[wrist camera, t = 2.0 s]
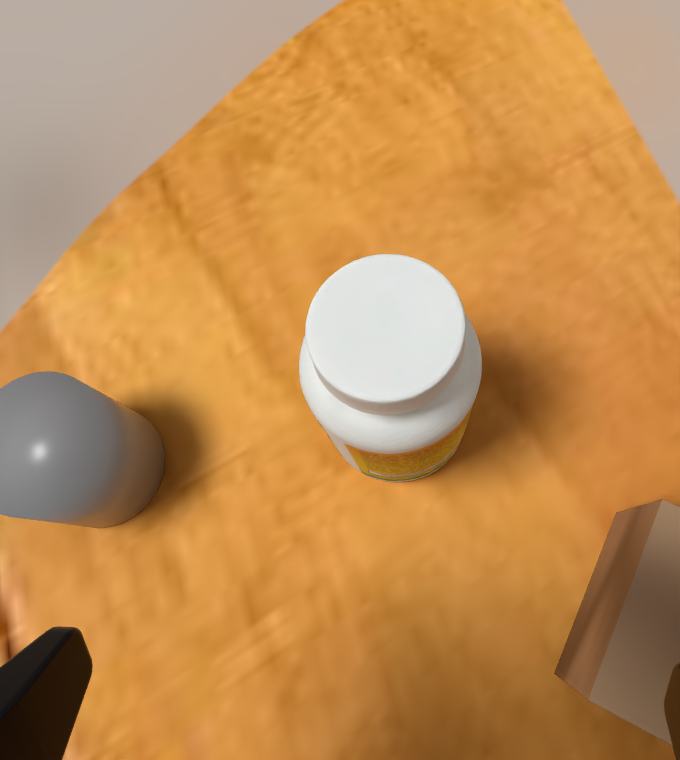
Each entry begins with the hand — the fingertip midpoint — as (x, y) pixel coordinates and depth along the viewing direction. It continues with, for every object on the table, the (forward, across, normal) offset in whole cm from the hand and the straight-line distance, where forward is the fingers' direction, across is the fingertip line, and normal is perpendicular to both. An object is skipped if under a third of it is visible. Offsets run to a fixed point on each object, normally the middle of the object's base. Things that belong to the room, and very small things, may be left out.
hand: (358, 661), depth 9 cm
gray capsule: (+13, +12, +6) cm, 19 cm away
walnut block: (+10, -8, +9) cm, 16 cm away
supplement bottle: (+14, 0, +4) cm, 15 cm away
